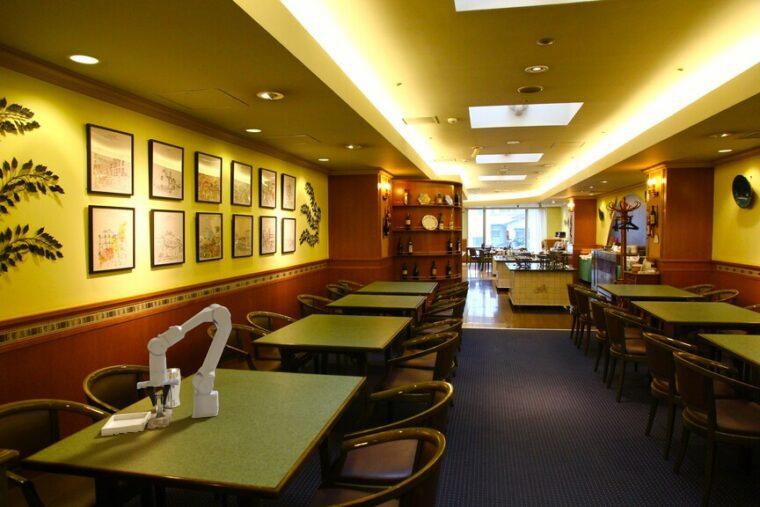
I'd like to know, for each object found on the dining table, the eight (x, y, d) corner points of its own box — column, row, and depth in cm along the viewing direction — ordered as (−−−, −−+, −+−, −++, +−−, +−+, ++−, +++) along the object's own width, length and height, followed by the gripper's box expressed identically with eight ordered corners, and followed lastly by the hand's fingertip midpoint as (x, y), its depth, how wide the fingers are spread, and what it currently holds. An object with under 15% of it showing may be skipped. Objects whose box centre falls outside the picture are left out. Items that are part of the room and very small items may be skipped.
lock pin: (165, 413, 182) (164, 392, 181) (163, 416, 179) (162, 395, 178) (156, 414, 181) (155, 393, 181) (154, 417, 178) (153, 396, 177)
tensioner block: (174, 412, 191) (174, 405, 191) (168, 426, 177) (167, 418, 177) (156, 414, 189) (155, 407, 189) (147, 428, 176) (147, 420, 175)
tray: (151, 417, 186) (151, 411, 186) (142, 431, 173) (142, 424, 173) (113, 421, 183) (112, 415, 183) (101, 435, 170) (101, 429, 170)
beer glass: (159, 407, 198) (158, 371, 197) (172, 401, 204) (171, 367, 203) (172, 409, 195) (171, 373, 194) (185, 403, 201) (184, 368, 201)
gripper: (134, 374, 173) (135, 411, 174) (176, 371, 177) (178, 406, 177) (139, 369, 180) (140, 404, 181) (179, 366, 184) (181, 400, 184)
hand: (159, 405), depth 180 cm, fingers closed on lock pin, 3 cm apart
